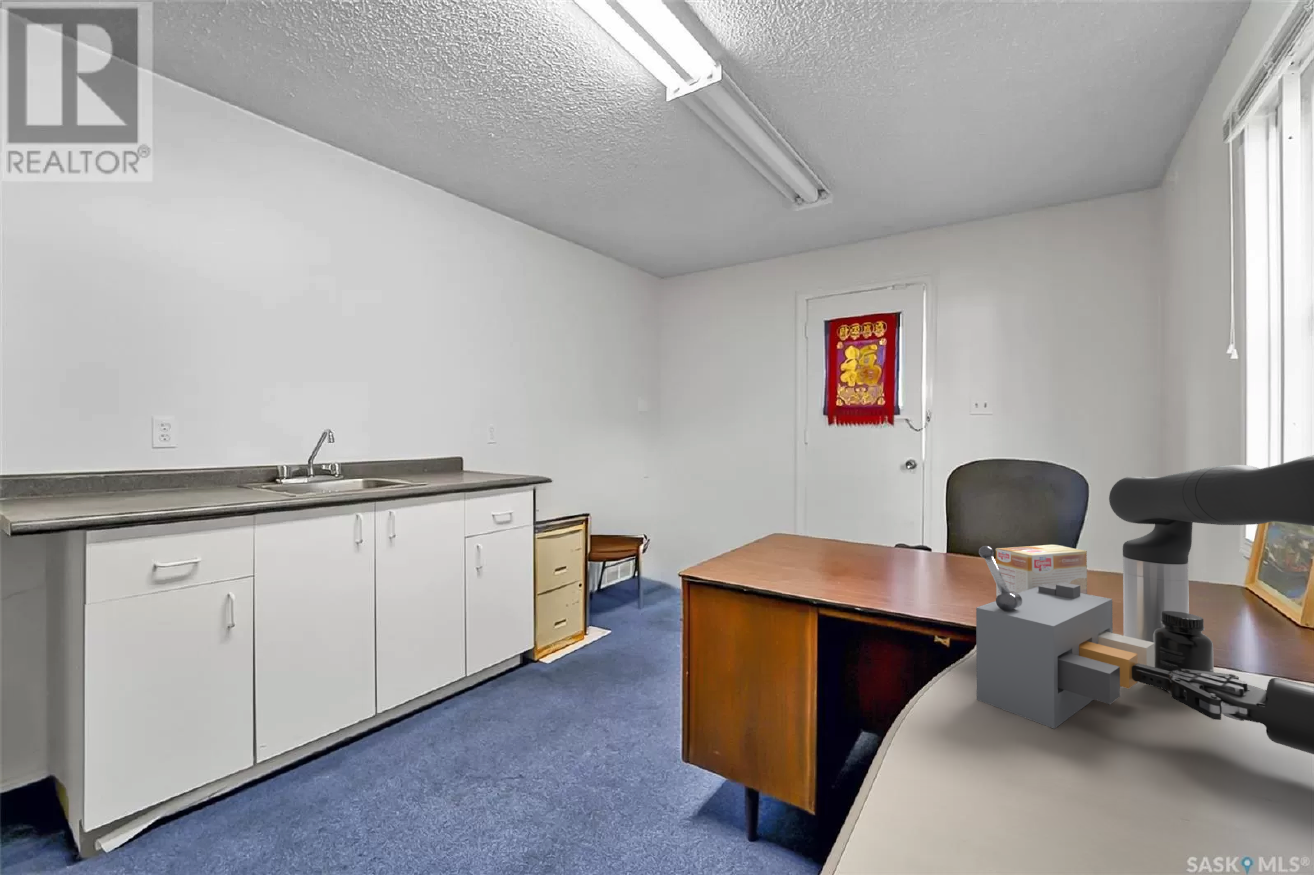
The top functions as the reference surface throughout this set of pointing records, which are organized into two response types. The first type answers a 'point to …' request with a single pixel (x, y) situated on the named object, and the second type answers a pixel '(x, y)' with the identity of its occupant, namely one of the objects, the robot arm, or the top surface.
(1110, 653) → the orange button
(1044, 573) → the coffeecake box
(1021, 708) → the grey dispenser housing
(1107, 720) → the top surface
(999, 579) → the toggle lever
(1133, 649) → the cream button
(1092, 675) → the black button
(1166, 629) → the supplement bottle
